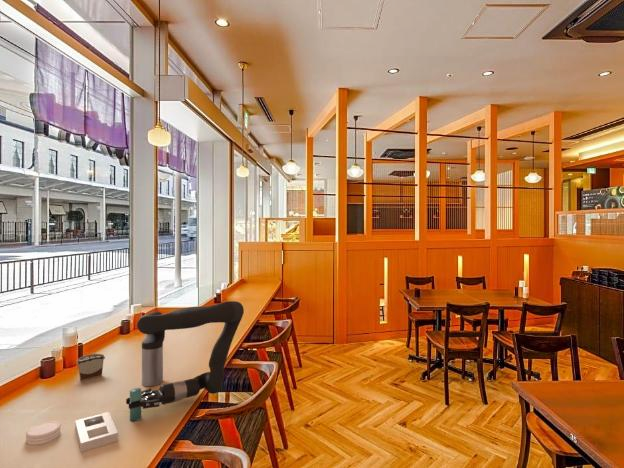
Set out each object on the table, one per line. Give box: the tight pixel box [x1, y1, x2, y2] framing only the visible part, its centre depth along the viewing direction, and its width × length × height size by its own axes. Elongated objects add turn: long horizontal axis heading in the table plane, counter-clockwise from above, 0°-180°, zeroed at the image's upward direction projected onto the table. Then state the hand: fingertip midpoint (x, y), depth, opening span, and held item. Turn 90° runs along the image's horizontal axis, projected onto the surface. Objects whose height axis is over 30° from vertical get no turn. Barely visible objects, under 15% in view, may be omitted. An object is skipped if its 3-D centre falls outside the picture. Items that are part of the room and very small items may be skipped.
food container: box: [76, 353, 106, 382], centre depth 188 cm, size 12×6×10 cm, turn 134°
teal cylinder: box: [129, 387, 142, 422], centre depth 147 cm, size 4×4×11 cm
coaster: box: [25, 420, 62, 446], centre depth 134 cm, size 10×10×4 cm
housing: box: [74, 411, 119, 453], centre depth 136 cm, size 18×11×3 cm, turn 37°
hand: (127, 403), depth 146 cm, fingers closed on teal cylinder, 4 cm apart
